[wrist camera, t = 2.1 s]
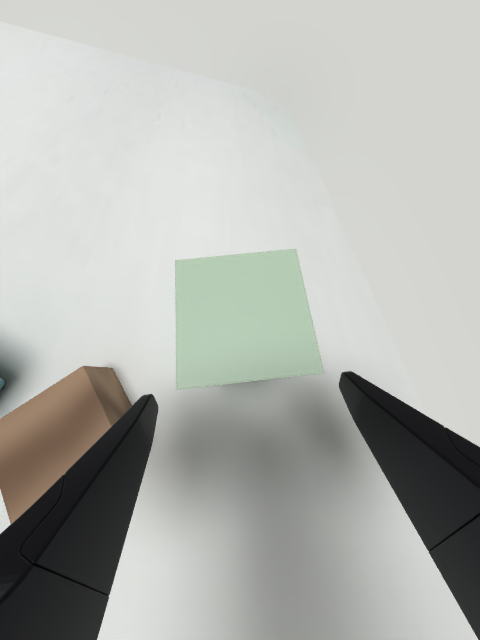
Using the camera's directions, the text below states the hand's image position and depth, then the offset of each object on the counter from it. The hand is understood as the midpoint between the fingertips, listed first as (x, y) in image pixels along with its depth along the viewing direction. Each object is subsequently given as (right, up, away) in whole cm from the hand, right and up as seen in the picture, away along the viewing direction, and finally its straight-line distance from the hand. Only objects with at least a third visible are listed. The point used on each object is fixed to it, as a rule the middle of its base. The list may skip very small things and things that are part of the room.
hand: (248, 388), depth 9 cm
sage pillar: (0, 0, +10) cm, 10 cm away
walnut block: (-14, -7, +9) cm, 18 cm away
